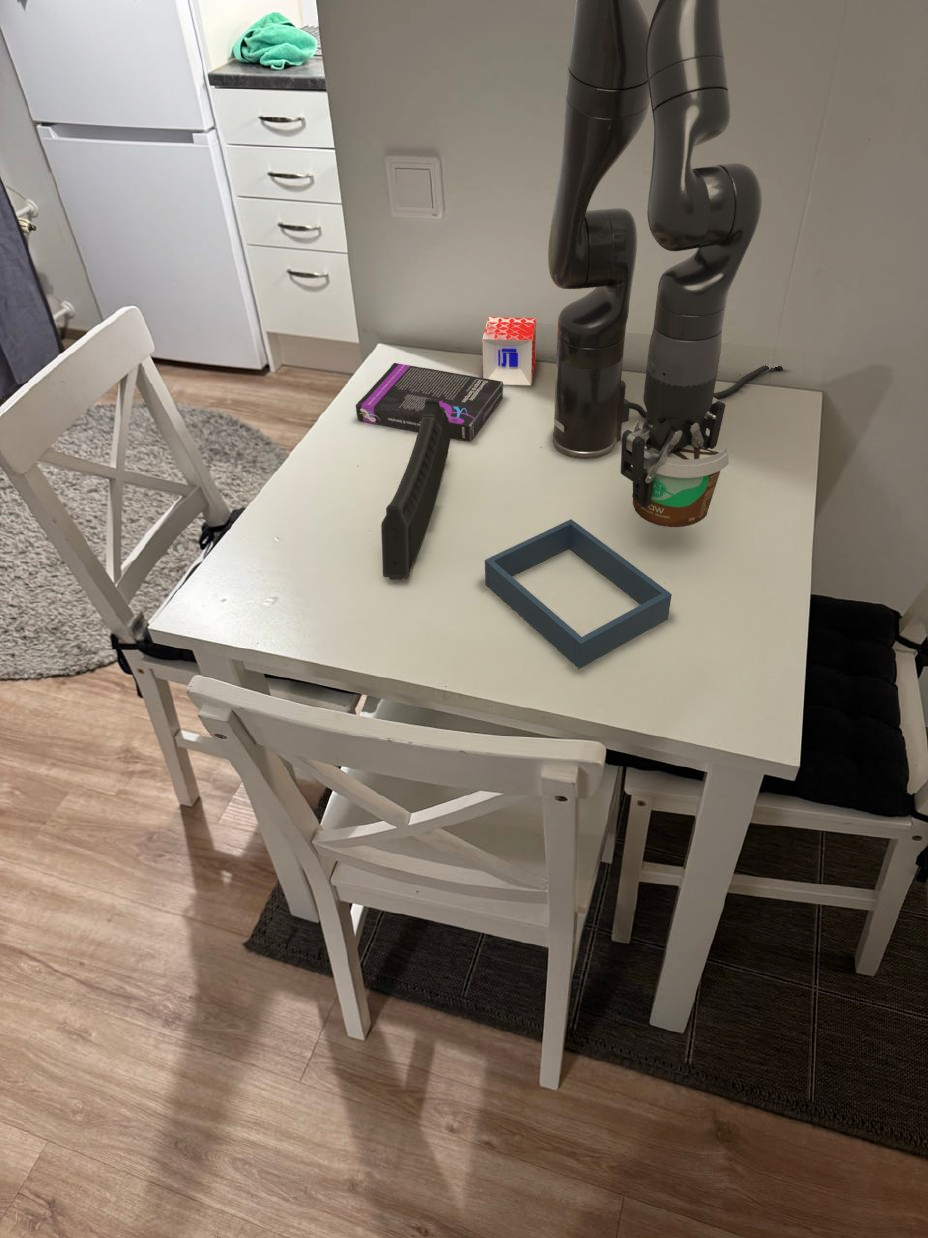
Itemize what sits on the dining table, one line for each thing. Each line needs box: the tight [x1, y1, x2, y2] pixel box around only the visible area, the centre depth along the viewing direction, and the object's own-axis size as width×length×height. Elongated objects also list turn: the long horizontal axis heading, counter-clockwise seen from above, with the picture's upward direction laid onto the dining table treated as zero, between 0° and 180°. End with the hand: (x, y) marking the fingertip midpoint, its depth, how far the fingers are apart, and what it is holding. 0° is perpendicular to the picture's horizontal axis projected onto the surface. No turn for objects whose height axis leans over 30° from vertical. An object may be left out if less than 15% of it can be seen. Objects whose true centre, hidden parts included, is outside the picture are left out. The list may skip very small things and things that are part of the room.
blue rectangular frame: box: [484, 518, 673, 669], centre depth 109 cm, size 14×18×4 cm
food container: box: [631, 420, 730, 528], centre depth 108 cm, size 12×6×10 cm, turn 55°
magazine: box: [380, 399, 452, 581], centre depth 120 cm, size 17×3×30 cm
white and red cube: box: [481, 316, 537, 386], centre depth 150 cm, size 8×8×8 cm
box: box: [354, 362, 504, 443], centre depth 143 cm, size 14×4×20 cm
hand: (664, 492), depth 109 cm, fingers closed on food container, 7 cm apart
